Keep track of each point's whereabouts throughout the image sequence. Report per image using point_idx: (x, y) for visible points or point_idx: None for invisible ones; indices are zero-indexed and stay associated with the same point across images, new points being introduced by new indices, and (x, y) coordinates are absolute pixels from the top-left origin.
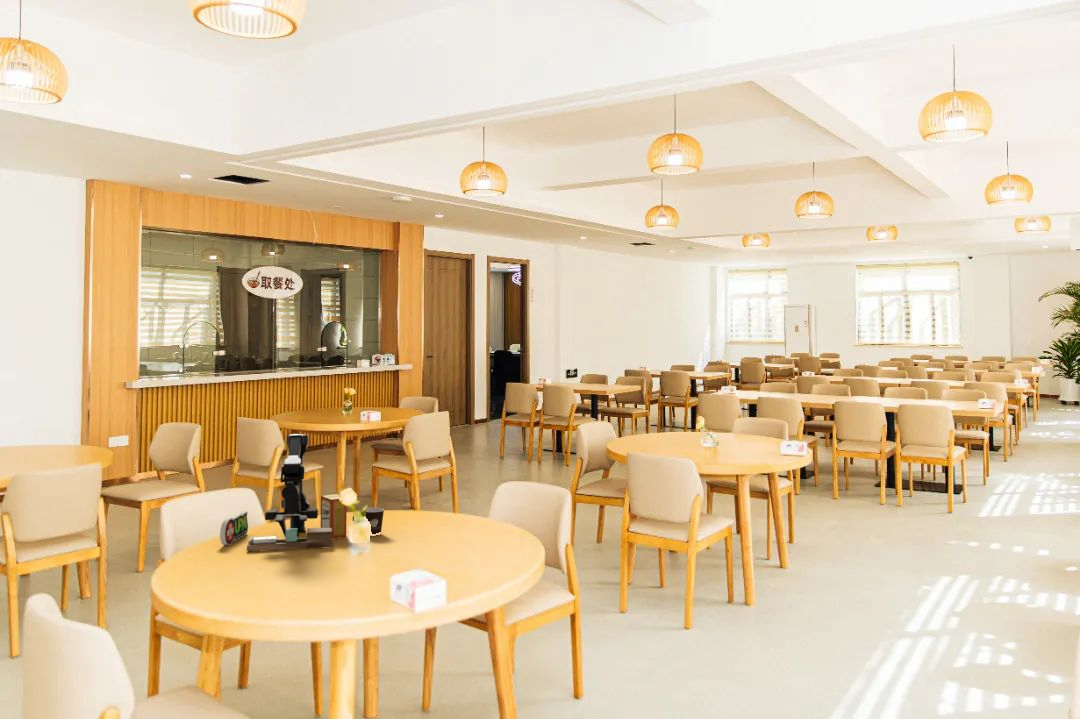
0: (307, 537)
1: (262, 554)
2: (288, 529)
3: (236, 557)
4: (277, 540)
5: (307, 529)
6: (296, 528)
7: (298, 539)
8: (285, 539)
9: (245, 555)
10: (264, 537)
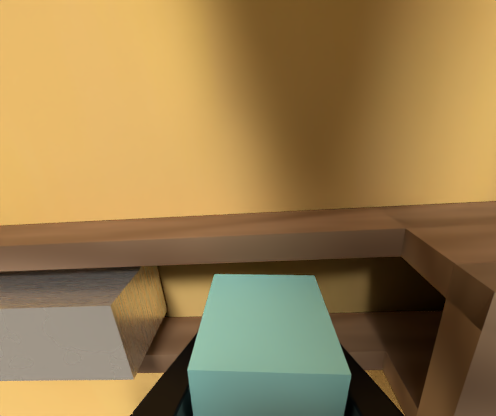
0: (411, 414)
1: (120, 383)
2: (221, 412)
3: (11, 405)
4: (138, 262)
5: (481, 352)
6: (331, 387)
7: (319, 255)
8: (203, 260)
9: (39, 385)
10: (12, 329)
